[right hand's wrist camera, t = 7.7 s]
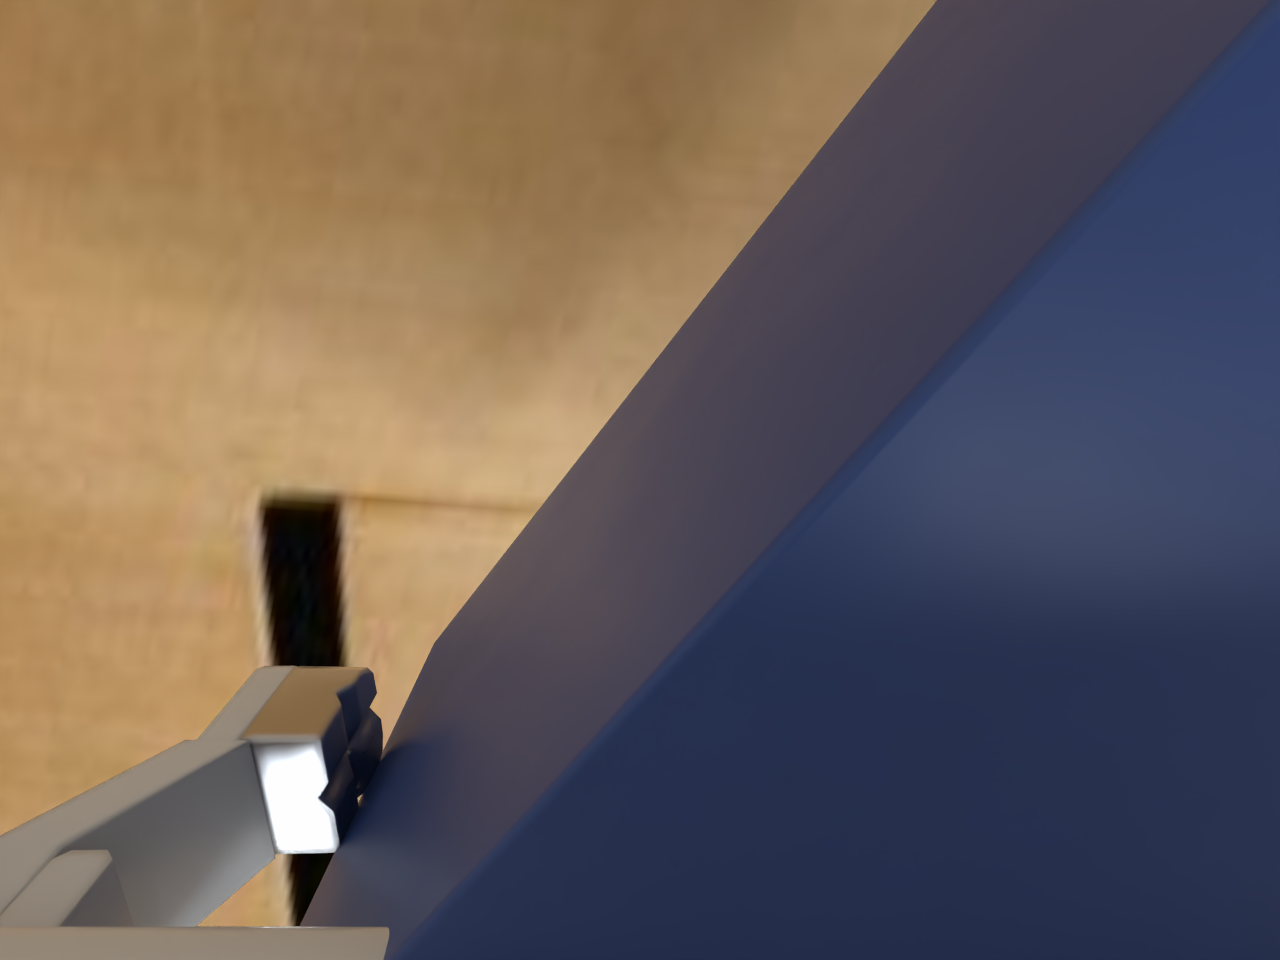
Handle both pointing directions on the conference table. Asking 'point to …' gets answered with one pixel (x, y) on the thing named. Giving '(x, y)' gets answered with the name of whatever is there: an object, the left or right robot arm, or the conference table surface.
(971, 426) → the bar
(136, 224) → the conference table surface
